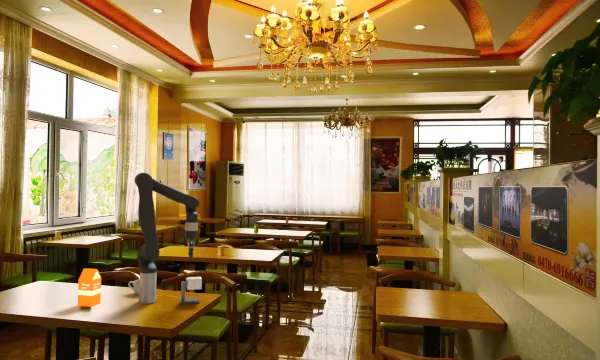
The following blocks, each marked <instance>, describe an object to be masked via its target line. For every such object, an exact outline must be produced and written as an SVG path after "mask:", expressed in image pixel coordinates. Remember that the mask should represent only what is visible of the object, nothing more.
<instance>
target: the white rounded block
mask: <svg viewBox="0 0 600 360" xmlns="http://www.w3.org/2000/svg"><path fill="white" fill-rule="evenodd" d="M202 280H203V279H202V277H201V276H188V277H186V278H185V281H186V282H187V286H186V288H187V291H191V290H192V291H193V290H202V289H203V287H202V286H203V281H202Z"/></svg>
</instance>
